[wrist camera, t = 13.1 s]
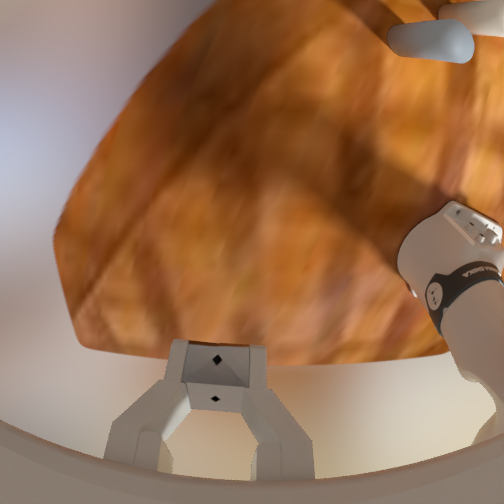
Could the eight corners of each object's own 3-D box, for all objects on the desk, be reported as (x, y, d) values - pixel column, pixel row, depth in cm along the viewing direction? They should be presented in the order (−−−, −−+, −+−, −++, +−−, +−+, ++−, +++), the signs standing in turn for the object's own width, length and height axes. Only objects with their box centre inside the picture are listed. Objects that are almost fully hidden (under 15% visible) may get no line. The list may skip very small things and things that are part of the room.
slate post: (419, 31, 26) (475, 29, 16) (415, 61, 29) (471, 69, 19) (388, 20, 26) (439, 11, 16) (385, 51, 29) (435, 53, 19)
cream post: (464, 12, 23) (522, 11, 13) (462, 38, 25) (521, 44, 16) (438, -1, 23) (495, -8, 13) (436, 27, 25) (494, 26, 16)
